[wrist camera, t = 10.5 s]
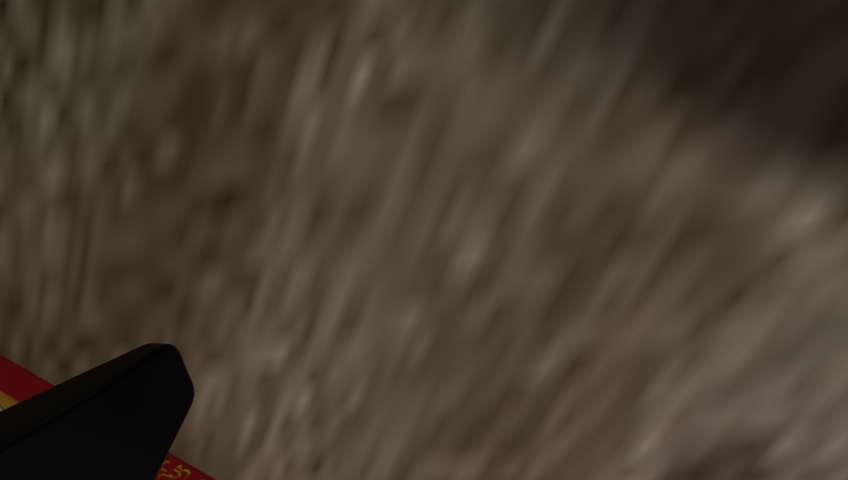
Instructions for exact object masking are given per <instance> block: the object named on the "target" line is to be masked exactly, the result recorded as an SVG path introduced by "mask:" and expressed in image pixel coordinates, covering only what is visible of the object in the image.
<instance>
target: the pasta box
mask: <svg viewBox="0 0 848 480" xmlns="http://www.w3.org/2000/svg"><path fill="white" fill-rule="evenodd" d="M52 387H54V385H52V384H50V383H48V382H47V381H45V380H43V379H42V378H40V377H38V376H36V375H35V374H33V373H31V372H30V371H28V370H26V369H24V368H23V367H21V366H19V365H18V364H16V363H14V362H12V361H11V360H9V359H7V358H6V357H4V356H2V355H0V411H2V410H4V409H6V408H8V407H11V406H13V405H15V404H17V403H19V402H21V401H24V400H26V399H28V398H30V397H32V396H34V395H37V394H39V393H41V392H43V391H45V390H47V389H50V388H52ZM155 480H215V479H213V478H212V477H210V476H208V475H207V474H205V473H203V472H201V471H200V470H198V469H196V468H195V467H193V466H191V465H189V464H188V463H186V462H184V461H183V460H181V459H179V458H177V457H176V456H174V455H172V454H170V453H169V452H168V454H167V456H166V458H165V460H164V462H163V464H162V466H161V468H160V470H159V472H158V474H157V476H156V478H155Z"/></svg>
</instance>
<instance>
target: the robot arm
mask: <svg viewBox="0 0 848 480" xmlns="http://www.w3.org/2000/svg"><path fill="white" fill-rule="evenodd" d="M193 399H194V386H193V383H192V381H191V378H190V376H189V374H188V371H187V369H186V366H185V364H184V362H183V359H182V357H181V354H180V352H179V350H178V349H177V348H176V347H175V346H173V345H171V344H159V343H149V344H145V345H143V346H141V347H138V348H136V349H134V350H132V351H130V352H128V353H125V354H123V355H121V356H119V357H117V358H115V359H112V360H110V361H108V362H106V363H104V364H102V365H99V366H97V367H95V368H93V369H91V370H89V371H86V372H84V373H82V374H80V375H78V376H76V377H73V378H71V379H69V380H67V381H65V382H63V383H60V384H58V385H56V386H54V387H52V388H50V389H47V390H45V391H43V392H41V393H39V394H37V395H34V396H32V397H30V398H28V399H26V400H24V401H21V402H19V403H17V404H15V405H13V406H11V407H8V408H6V409H4V410H2V411H0V480H155V478H156V476H157V474H158V472H159V470H160V468H161V466H162V464H163V462H164V460H165V458H166V456H167V454H168V452H169V450H170V448H171V446H172V444H173V442H174V440H175V438H176V436H177V434H178V431H179V429H180V427H181V425H182V423H183V421H184V419H185V417H186V415H187V413H188V411H189V409H190V407H191V405H192V402H193Z"/></svg>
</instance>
